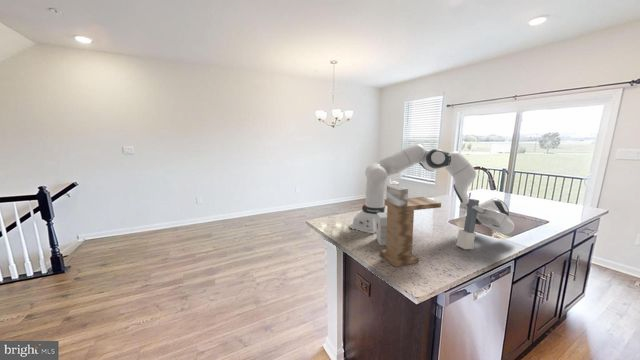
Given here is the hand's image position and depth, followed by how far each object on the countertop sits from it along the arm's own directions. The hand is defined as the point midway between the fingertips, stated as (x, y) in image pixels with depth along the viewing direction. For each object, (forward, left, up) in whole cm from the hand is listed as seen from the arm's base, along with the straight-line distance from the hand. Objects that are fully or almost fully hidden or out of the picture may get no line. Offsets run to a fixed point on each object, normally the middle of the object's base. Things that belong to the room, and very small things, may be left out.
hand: (469, 205), depth 117 cm
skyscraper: (-39, +30, -22) cm, 54 cm away
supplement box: (-37, -8, -22) cm, 44 cm away
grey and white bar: (+2, +2, -9) cm, 10 cm away
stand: (-25, -21, -21) cm, 40 cm away
